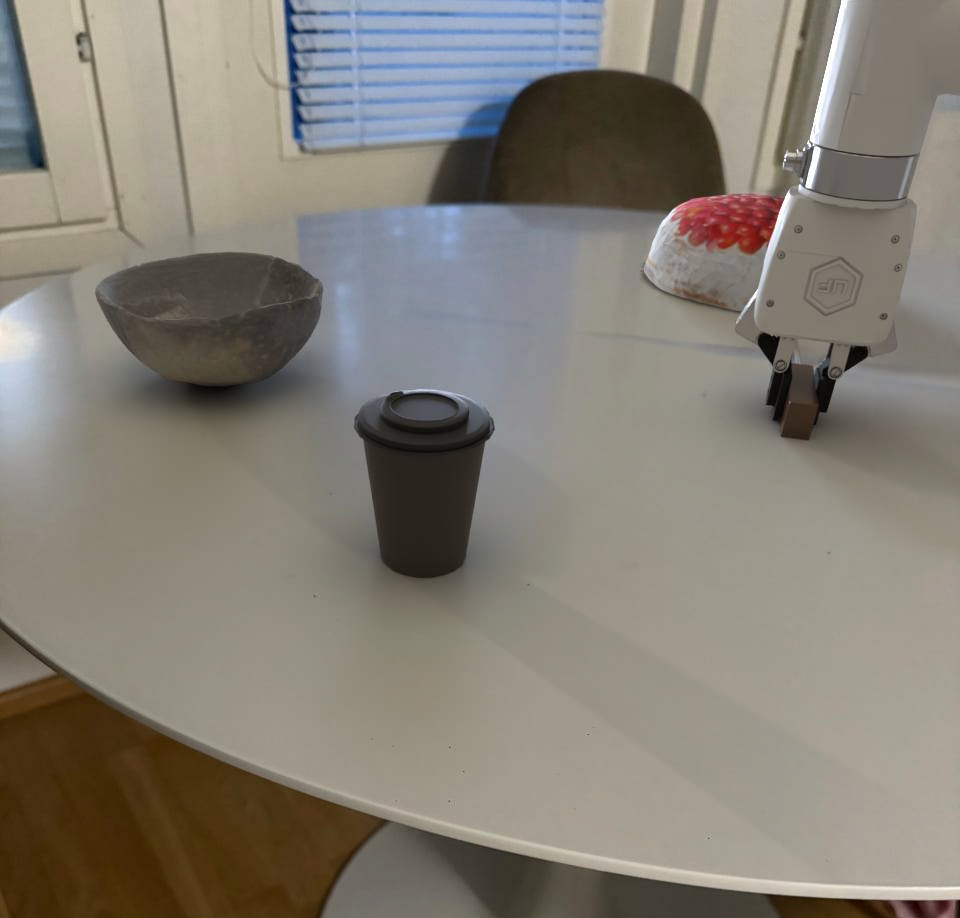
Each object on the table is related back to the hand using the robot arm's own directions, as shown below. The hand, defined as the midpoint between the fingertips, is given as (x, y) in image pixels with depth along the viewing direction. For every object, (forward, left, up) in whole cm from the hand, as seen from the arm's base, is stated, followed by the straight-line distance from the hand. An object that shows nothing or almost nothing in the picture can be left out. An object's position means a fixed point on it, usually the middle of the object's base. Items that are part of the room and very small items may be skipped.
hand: (793, 414), depth 79 cm
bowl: (+48, +6, 0) cm, 48 cm away
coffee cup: (+24, +29, 0) cm, 38 cm away
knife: (0, -4, 0) cm, 4 cm away
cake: (+3, -33, 0) cm, 33 cm away
